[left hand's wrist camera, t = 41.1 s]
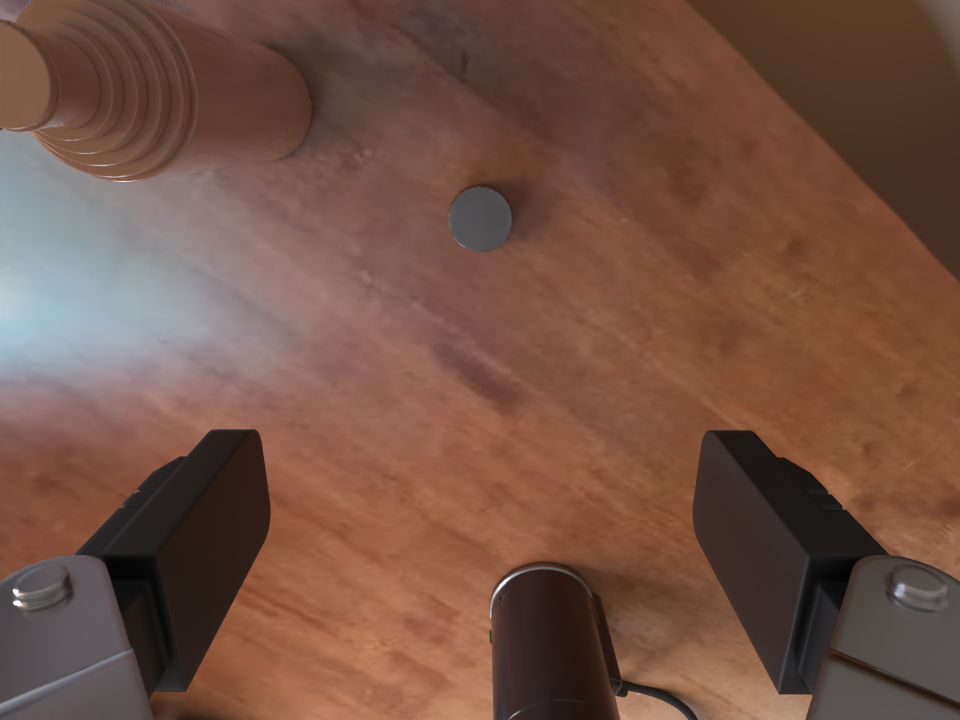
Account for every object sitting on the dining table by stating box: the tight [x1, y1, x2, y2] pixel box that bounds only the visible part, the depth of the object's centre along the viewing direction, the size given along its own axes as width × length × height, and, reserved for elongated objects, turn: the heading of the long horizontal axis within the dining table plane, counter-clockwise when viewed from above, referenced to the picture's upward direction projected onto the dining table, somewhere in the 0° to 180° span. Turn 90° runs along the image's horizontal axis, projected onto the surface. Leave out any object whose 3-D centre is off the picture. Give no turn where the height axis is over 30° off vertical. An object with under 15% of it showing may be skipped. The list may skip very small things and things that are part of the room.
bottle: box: [0, 0, 312, 182], centre depth 31 cm, size 7×7×24 cm
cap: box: [448, 184, 513, 252], centre depth 44 cm, size 4×4×2 cm
